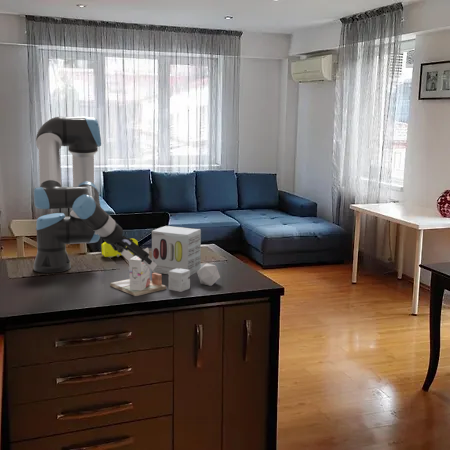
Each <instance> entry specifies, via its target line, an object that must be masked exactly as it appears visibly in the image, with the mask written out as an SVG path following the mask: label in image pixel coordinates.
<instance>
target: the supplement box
mask: <svg viewBox="0 0 450 450" xmlns="http://www.w3.org/2000/svg"><path fill="white" fill-rule="evenodd" d="M201 233H202V230H201V228H193V227H192V228H190V227H183V226H181V227H180V226H171V225H165V226H160V227H158V228H156V229H154V230H151V259H152V260H153V261H154V262H155V263H156V264H157V266H156V267H155V269H154V270H153V271H152V270H151V273H155V272H156V273H159V274H161V275H162V274H164V275H169V271H171V270H173V269H177V268H181V269H187V270H190V277H191V276H192V275H194V274H197V271H198V270H199V269H200V268H201V267H202V265H201V262H202V260H201V259H202V257H201V256H202V255H201V254H202V253H201V252H202V251H201V247H202V244H201V243H202V241H201V240H202V239H201V238H202V234H201Z"/></svg>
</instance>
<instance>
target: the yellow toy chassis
mask: <svg viewBox="0 0 450 450" xmlns="http://www.w3.org/2000/svg"><path fill="white" fill-rule="evenodd" d="M130 239H131V240H132V241H133V242H134V243H135V244H137V245H138V246H139V243H138V242H139V241H138V240H137V239H135V238H130ZM126 248H127V246H126ZM128 251H129V250H128ZM129 252H130V251H129ZM120 253H121V252H120ZM120 253H119V252H118V251H115V250H114V249H113V247H112V246H111V245H110V244H107V243H106V242H105V241H104V242H103V243H101V255H102V256H103V257H104V258H108V259H109V258H111V259H112V258H114V257H117V258H119V257H120V256H123V255H122V254H120ZM130 253H131V254H132V255H133V256H135V255H134V254H133V253H132V252H130Z"/></svg>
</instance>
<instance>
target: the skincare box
mask: <svg viewBox="0 0 450 450" xmlns="http://www.w3.org/2000/svg"><path fill="white" fill-rule="evenodd" d="M189 289H191V276H190V270H187V269H181V268H177V269H173V270H171V271H169V274H168V290H169V291H174V292H180V293H181V292H185V291H187V290H189Z"/></svg>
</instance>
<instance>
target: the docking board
mask: <svg viewBox="0 0 450 450" xmlns="http://www.w3.org/2000/svg"><path fill="white" fill-rule="evenodd" d="M162 277H163V276H162V273H156V272H151V280H150V285H148V286H147V287H146V288H145V289H143V290H142V291H138V290H130V278H128V279H122V280H119V281H118V280H117V281H114V282H110V283H109V284H110V285H109V286H110V287H112V288H115V289H116V290H119V291H121V292H124V293H127V294H129V295H132V296H134V297H138V296H142V295H143V296H144V295H146V294H147V295H148V294H150V293H151V294H152V293H155V292H159V291H163V290H166V289H167V285H165V284H163V282H162V281H163V280H162V279H163V278H162Z"/></svg>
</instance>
